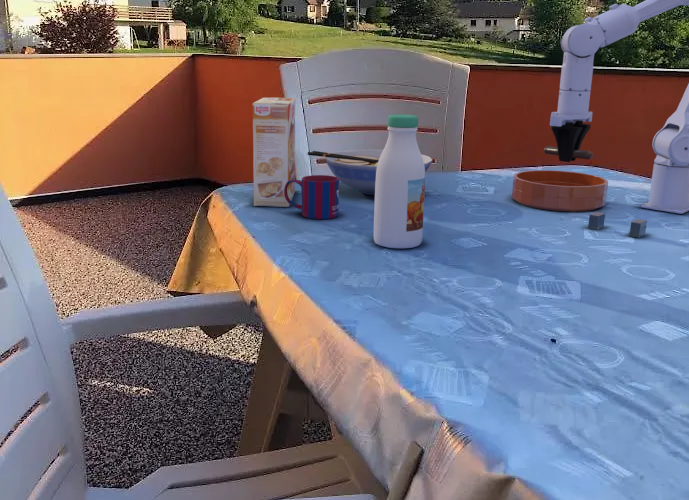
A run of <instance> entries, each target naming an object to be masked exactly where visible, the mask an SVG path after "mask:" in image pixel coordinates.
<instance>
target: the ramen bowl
mask: <svg viewBox="0 0 689 500" xmlns="http://www.w3.org/2000/svg"><path fill="white" fill-rule="evenodd" d="M383 150H384V149H348V150H341V151H333V152H326V151H318V150H312V151H307V156H312V157H313V156H314V157H321V158H322V157H324V160H325V162H326V164H327V166H328V168H329V169H330V171H331V173H332V174H333V176H335V177H338V178H339V182H341V183H342V184H344V185H347V186H348V187H351V188H353V189H355V190H358V192H360V193H361V194H366V195H373V196H375V182H376V170H377V165H378V161H379V158H380V156H381V154H382V152H383ZM421 155H422V158H423V162H424V166H425V173H426V172H427V171H428V169H429V168H430V166H431V164H432V162H433V158H431V157H430V156H428V155H425V154H422V153H421Z"/></svg>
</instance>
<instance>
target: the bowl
mask: <svg viewBox="0 0 689 500" xmlns="http://www.w3.org/2000/svg"><path fill="white" fill-rule="evenodd" d="M608 186H609V181H608V179H606V178H604V177H601V176H598V175H594V174H591V173H590V174H589V173H584V172H577V171H566V170H551V169H547V170H546V169H539V170H537V169H536V170H525V171H523V170H522V171H518V172H515V173H514V174H513V178H512V190H511V198H512V199H513V200H514V201H516V202H517V203H519V204H521V205H524V206H526V207H531V208H535V209H541V210H545V211H547V210H548V211H555V212H588V211H594V210H597V209H599V208H602V207H604V206H605V205H606V203H607V194H608Z"/></svg>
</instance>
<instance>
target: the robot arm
mask: <svg viewBox="0 0 689 500" xmlns="http://www.w3.org/2000/svg"><path fill="white" fill-rule="evenodd" d="M679 6H689V0H643V1H642V2H639V3H638V4H635V5H633V6H631V5H628V4H627V3H621V4H618V3H614V4H611V5H609V6H608V9H609V10H607V11H605V12H603V13H600V14H598V15H596V16H594V17H592V16H588V17H586V18H585V19H584V23H581V24H578V25H573V26H571V27H569V28H568V29H567V30H566V31H565V32H564V34H563V36H562V38H561V40H560V47H561V50H562V52H563V57H562V59H563V60H562V65H561V72H560V81H559V91H558V99H557V100H558V101H557V110H556V111H552V112H551V114H550V119H549V120H550V121H549V126H550V129H551V131H552V134H553V136H554V139H555V142H556V146H557V148H558V155H559V156H558V160H559V162H563V163H571V161H572V162H575V161H576V159H577V158H572V156H573V152H574V149H575V150H581V149H580V148H581V145H582V143H583V141H584V139H585V138H586V135H587V134H588V132H589V131H590V129H591V124H590V123H592V121H593V111H589V107H590V99H591V90H592V83H593V73H594V61H595V60H594V59H595V54H596V52H597V51H598V50H599V49H600V48H604V47H606V46H609V45H611V44H613V43H615V42H617V41H620V40H621V39H623V38H626V37H628V36H630V35H632V34H635V32H636V31H637V28H638V27H639V25H640V23H642V22H645V21H646V20H648V19H651V18H653V17H656V16H658V15H660V14H662V13H664V12H667V11H670V10H672V9H674V8H677V7H679ZM585 122H587V123H585ZM651 143H652V150H653V151H654V153H655V154H656V157H655V158H654V160H653V167H652V175H651V182H650V188H649V195H648V202H647V201H646V202H645V203H643V204H640V208H643V209H648V210H656V211H661V212H667V213H674V214H680V215H681V214H682V215H683V214H685V213H687V212H689V83H688V84H687V86H686V88H685V90H684V93H683V94H682V97H681V99H680V102H679V104H678V106H677V108H676V110H675V111H674V112H673V113H672V114H671V115H670V116H669V117H668V118H667V119H666V121H665V124H664V125H663V127H662V128H661V129H659V130H658V131H657V132H656V133H655V134H654V137H653V138H652V142H651Z"/></svg>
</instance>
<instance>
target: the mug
mask: <svg viewBox="0 0 689 500" xmlns="http://www.w3.org/2000/svg"><path fill="white" fill-rule="evenodd" d="M291 182H295V184H298V185H299V186H300V187H301V204H297V203H295V202H294V201H292V200H290V199H289V197H288V194H287V188H288V185H289V184H290V183H291ZM284 195H285V198H286V200H287V202H288V203H289V204H290V205H289V206H292V207H294V208H296V209H299V210H301V216H302V217H303V218H307V219H312V220H330V219H335V218H337V217H339V213H340V211H339V210H340V208H339V207H340V180H339V178H338V177H336V176H335V175H326V174H313V175H305V176H303V177H302V178H301V180H298V179H295V180H289V181H288V182H287V183H286V185H285V188H284Z"/></svg>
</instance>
